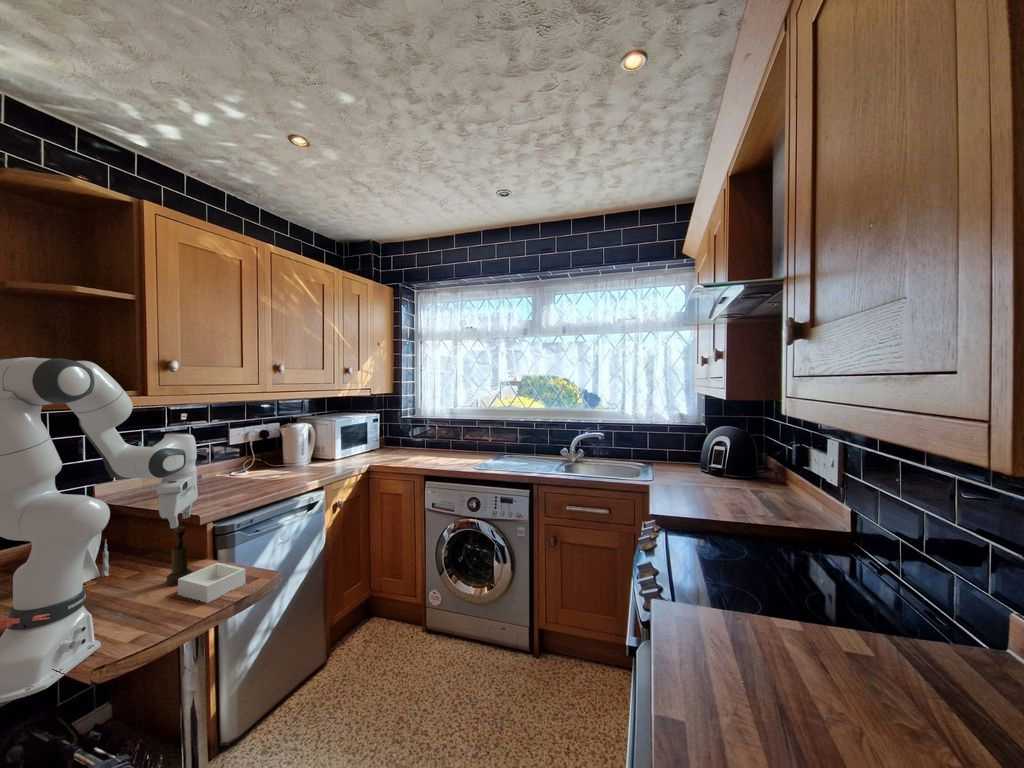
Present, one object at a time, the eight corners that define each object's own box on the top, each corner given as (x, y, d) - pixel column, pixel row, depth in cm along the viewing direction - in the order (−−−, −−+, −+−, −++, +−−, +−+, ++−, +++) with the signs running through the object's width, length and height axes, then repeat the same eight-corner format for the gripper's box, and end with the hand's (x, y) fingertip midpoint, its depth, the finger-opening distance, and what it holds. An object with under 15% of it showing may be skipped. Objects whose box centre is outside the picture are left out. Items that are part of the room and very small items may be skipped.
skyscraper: (80, 588, 129) (80, 500, 129) (60, 585, 131) (60, 499, 130) (110, 575, 138) (111, 493, 137) (91, 573, 139) (91, 492, 139)
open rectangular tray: (207, 603, 121) (207, 586, 121) (178, 594, 125) (178, 578, 125) (245, 584, 132) (245, 568, 132) (217, 577, 137) (217, 562, 137)
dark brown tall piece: (162, 582, 133) (162, 528, 133) (186, 574, 138) (186, 522, 138) (172, 587, 130) (172, 531, 129) (196, 579, 135) (196, 525, 135)
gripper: (181, 474, 142) (181, 513, 143) (153, 490, 123) (154, 535, 124) (202, 472, 145) (203, 511, 145) (179, 488, 126) (179, 532, 126)
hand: (180, 522), depth 134 cm, fingers open, 8 cm apart
